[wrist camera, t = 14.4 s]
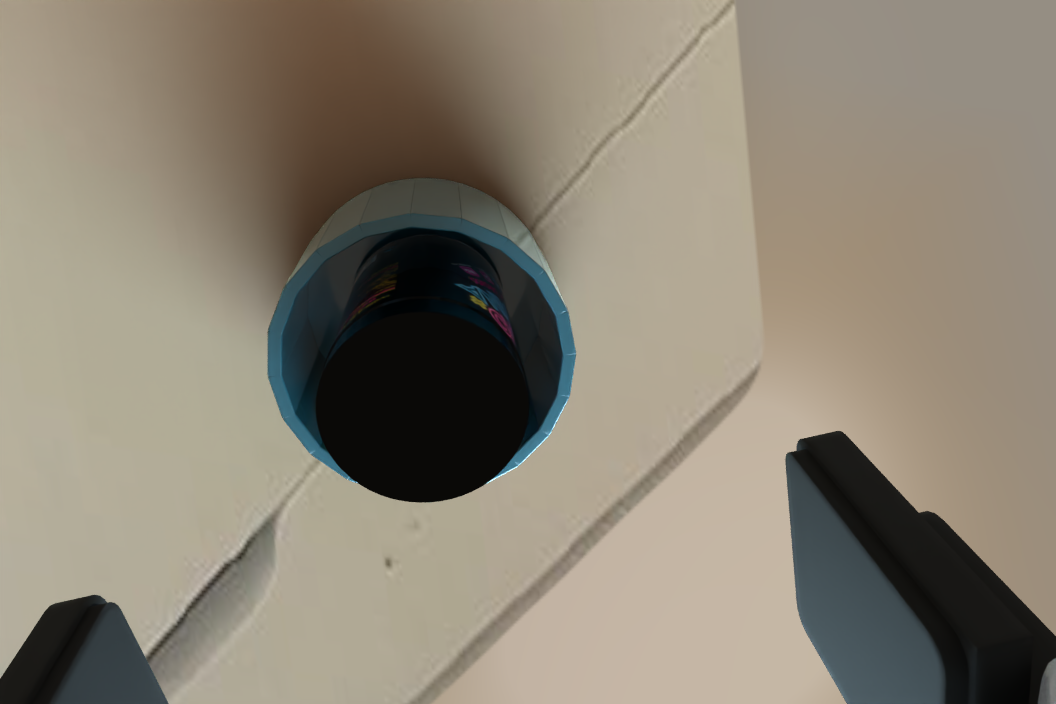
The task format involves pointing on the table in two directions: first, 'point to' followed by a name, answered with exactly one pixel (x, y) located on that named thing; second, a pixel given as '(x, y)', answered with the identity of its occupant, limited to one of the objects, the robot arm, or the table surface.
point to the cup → (383, 218)
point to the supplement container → (423, 374)
